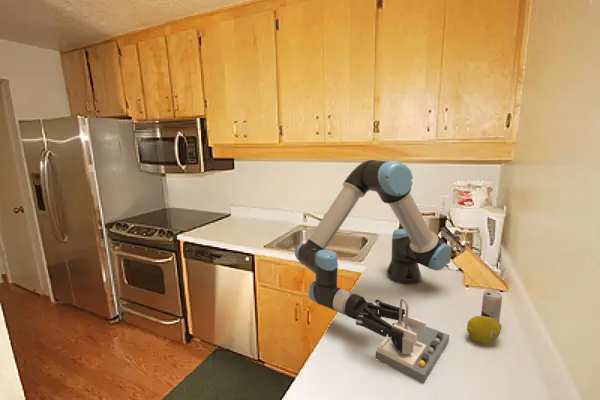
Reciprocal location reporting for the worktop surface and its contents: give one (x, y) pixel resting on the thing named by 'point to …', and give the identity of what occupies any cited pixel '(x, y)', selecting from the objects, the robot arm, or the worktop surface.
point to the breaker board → (415, 353)
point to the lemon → (483, 329)
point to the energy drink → (491, 305)
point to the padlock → (398, 342)
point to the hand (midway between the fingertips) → (420, 332)
